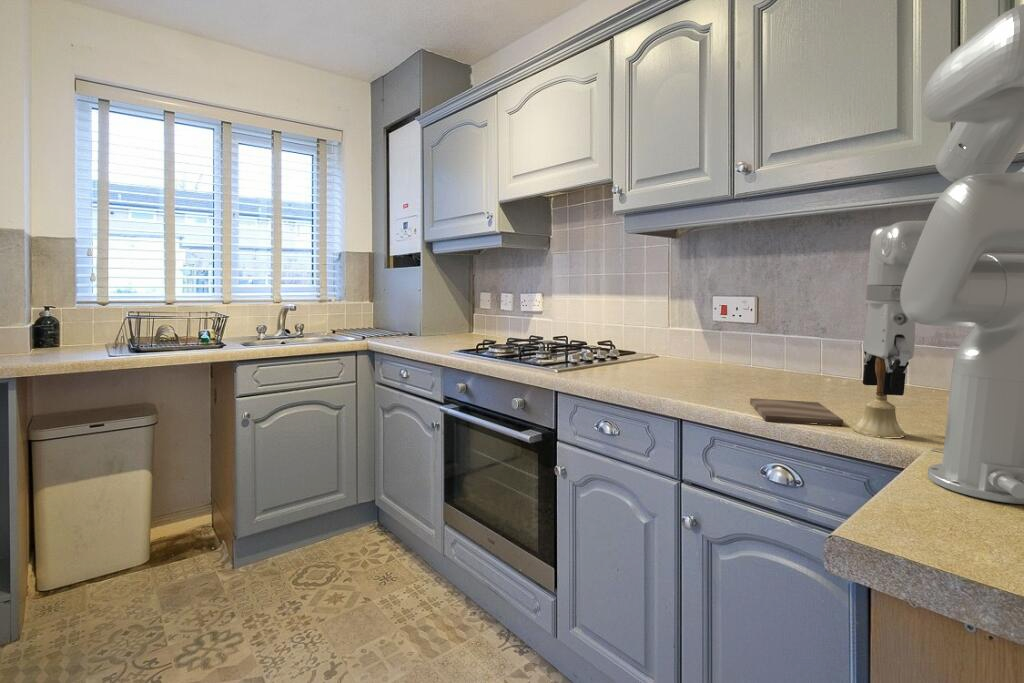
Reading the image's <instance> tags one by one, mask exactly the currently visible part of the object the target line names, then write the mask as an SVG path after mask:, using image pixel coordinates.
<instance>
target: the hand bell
mask: <svg viewBox="0 0 1024 683" xmlns="http://www.w3.org/2000/svg"><path fill="white" fill-rule="evenodd" d="M891 362H892V363H893V361H891ZM884 372H887V370H886V365H885V360H884V359H882V358H879V357H877V358H876V361H875V373H876V377H877V386H876V391H875V395H876V396H875V399H874V400H872V401H869V402H867V403H866V406H865V409H864V413H863V415H862V417H861V419H860V420H859V421H858V422H857V423H855V424H854V425H853V426H852V428H851V429H852V430H853V431H854V432H855V433H857V432H859V433H858V434H860V433H862V434H861V435H863V434H867V435H873V436H880V437H901V436H905V435H906V433H905V431H904V430H903V429H902V428H901V427H900V425H899V423H898V421H897V416H896V414H897V413H896V406H895V405H894V404H892V403H891V402H889V401H888V395H885V394H883V393H882V388H883V377H884ZM867 435H866V436H867ZM905 437H906V436H905Z"/></svg>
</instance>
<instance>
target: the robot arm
mask: <svg viewBox="0 0 1024 683" xmlns="http://www.w3.org/2000/svg"><path fill="white" fill-rule="evenodd" d="M921 98H922V100H921V110H922V112H923V114H924V116H925V118H927V120H929V121H932V122H934V123H954V125H953V127H952V129H951V130H950V132H949V134H948V136H947V137H946V139H945V141H944V143H943V145H942V146H941V148H940V151H939V152H938V154H937V155H936V157H935V161H934V163H935V164H934V165H935V168H936V170H937V172H938V173H939V175H940V176H942V177H943V178H944V179H946V180H947V181H950V182H952V184H950V185H949V186H948V187H947V188H946V189H945V190H944V191H943V192H942V193H941V194H940V195H939V197H938V198H937V200H936V201H935V203H934V205H933V207H932V209H931V211H930V213H929V214H928V215H929V216H928V217H927V219H926V220H903V221H897V222H896V223H893V224H891V225H888V226H887V225H886V226H880V227H877V228H875V229H873V231H872V233H871V236H870V247H869V256H868V257H869V259H868V267H867V268H868V269H867V280H866V290H865V291H866V292H865V303H866V304H868V309H867V314H866V319H865V320H866V321H865V327H864V337H863V350H864V353H863V354H864V358H863V363H864V364H863V374H862V384H863V385H864V386H875V387H877V377H876V373H875V361H876V358H877V357H879V358H882V359H884V360H885V365H886V370H887V372H884V377H883V388H882V393H883V394H885V395H887V396H903V395H904V394H905V387H906V386H905V385H906V375H907V372H908V366H909V365H910V362H909V361H910V360H912V359H913V358H914V357H915V347H916V346H915V345H916V344H915V343H916V342H915V341H916V323H917V324H919V325H925V326H935V327H964V328H965V327H968V328H969V327H972V328H973V329H971V331H970V332H969V333H968V335H967V336H965V338H964V339H963V341H962V342H961V343H960V345H959V346H958V347H957V349H956V351H955V354H954V357H953V361H952V367H951V368H952V369H951V377H950V387H949V396H948V406H947V414H946V415H947V416H946V423H945V424H946V425H945V435H944V445H943V453H942V454H943V456H942V462H941V463H937V464H933V465H931V466H929V467H927V477H928V479H929V480H930V481H931V482H933V483H935V484H936V485H938V486H940V487H942V488H945V489H948V490H950V491H953V492H955V493H959V494H962V495H966V496H970V497H974V498H977V499H982V500H987V501H993V502H998V503H1006V504H1014V505H1015V504H1017V505H1024V166H1023V167H1021V169H1019V170H1017V171H1015V172H1006V171H1007V169H1009V168H1008V167H1009V166H1010V165H1011V164H1012V162H1013V161H1014V159H1015V158H1016V155H1017V154H1018V153H1019V152H1020V151H1021V149H1022V147H1023V146H1024V3H1023V4H1019V5H1017V6H1014V7H1012V8H1011V9H1008V10H1007V11H1005V12H1003V13H1002V14H1000V15H999V16H997V17H995V18H994V19H993V20H992V21H991V22H989V23H988V24H987V25H985V26H984V27H983V28H981V29H980V30H979V31H978V32H976V33H975V34H973V35H972V36H971V37H970V38H968V39H967V40H966V41H964V42H963V43H962V44H960V45H959V46H957V48H955V49H954V50H953V51H952V52H951V53H950V54H949V55H948V56H947V57H946V58H944V60H942V62H941V63H939V65H938V66H937V68H936V69H935V70H934V72H933V73H932V75H931V76H930V78H929V79H928V82H927V84H926V86H925V88H924V91H923V95H922V97H921ZM891 361H892V362H891Z"/></svg>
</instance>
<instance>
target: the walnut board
mask: <svg viewBox="0 0 1024 683" xmlns="http://www.w3.org/2000/svg"><path fill="white" fill-rule="evenodd" d="M749 404H750V406H751V407H752V408H753V409H754V410H755V411H756V413H757V414H759V416H760V417H761V418H762V420H763V421H765V422H770V423H771V422H772V423H787V424H788V423H789V424H801V423H817V424H831V425H830V426H833V425H843V426H844V419H842V418H841V417H840V416H838V415H837V414H835V413H834V412H833V411H831V410H830V409H828V408H827V407H825V406H824V405H823V404H822V403H820V402H819V401H805V400H800V401H799V400H788V399H787V400H786V399H784V400H783V399H769V398H768V399H767V398H752V397H751V398H750V399H749ZM817 424H816V425H817Z"/></svg>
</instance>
